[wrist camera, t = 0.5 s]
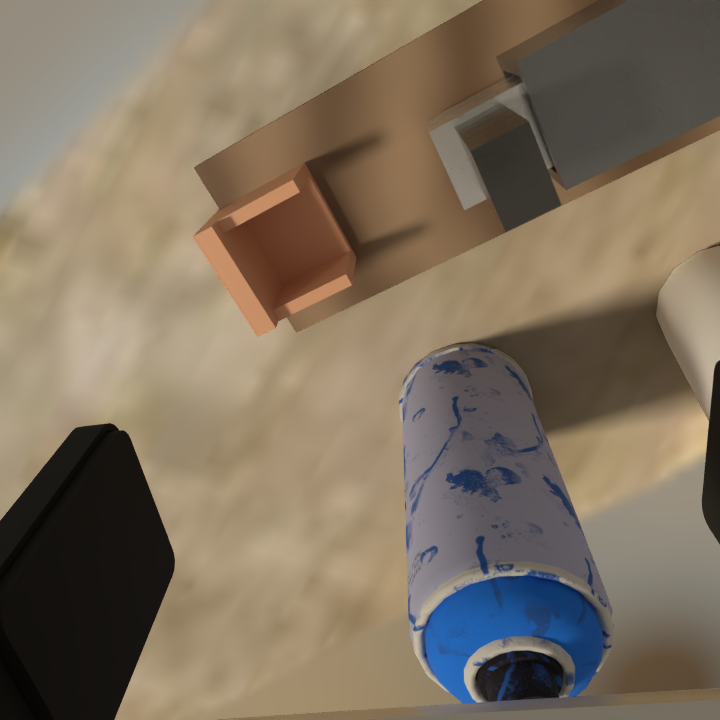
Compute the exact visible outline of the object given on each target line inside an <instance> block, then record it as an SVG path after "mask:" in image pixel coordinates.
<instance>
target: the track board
mask: <svg viewBox="0 0 720 720" xmlns="http://www.w3.org/2000/svg"><path fill="white" fill-rule="evenodd" d="M596 1H598V0H483V1H481V2H479V3H478V4H476V5H474V6H473V7H471V8H469V9H467V10H466V11H464V12H462V13H460V14H459V15H457V16H455V17H453V18H452V19H450V20H448V21H447V22H445V23H443V24H441V25H440V26H438V27H436V28H434V29H433V30H431V31H429V32H427V33H426V34H424V35H422V36H421V37H419V38H417V39H415V40H414V41H412V42H410V43H408V44H407V45H405V46H403V47H401V48H400V49H398V50H396V51H395V52H393V53H391V54H389V55H388V56H386V57H384V58H382V59H381V60H379V61H377V62H376V63H374V64H372V65H370V66H369V67H367V68H365V69H363V70H362V71H360V72H358V73H356V74H355V75H353V76H351V77H350V78H348V79H346V80H344V81H343V82H341V83H339V84H337V85H336V86H334V87H332V88H330V89H329V90H327V91H325V92H324V93H322V94H320V95H318V96H317V97H315V98H313V99H311V100H310V101H308V102H306V103H304V104H303V105H301V106H299V107H298V108H296V109H294V110H292V111H291V112H289V113H287V114H285V115H284V116H282V117H280V118H278V119H277V120H275V121H273V122H272V123H270V124H268V125H266V126H265V127H263V128H261V129H259V130H258V131H256V132H254V133H252V134H251V135H249V136H247V137H246V138H244V139H242V140H240V141H239V142H237V143H235V144H233V145H232V146H230V147H228V148H226V149H225V150H223V151H221V152H220V153H218V154H216V155H214V156H213V157H211V158H209V159H207V160H206V161H204V162H202V163H201V164H199V165H197V166H196V167H194V169H195V170H196V172H197V173H198V175H199V177H200V178H201V180H202V181H203V183H204V185H205V186H206V188H207V190H208V191H209V193H210V194H211V196H212V198H213V199H214V201H215V202H216V204H217V206H218V207H219V209H221V208H223V207H224V206H226V205H228V204H230V203H232V202H233V201H235V200H237V199H239V198H241V197H242V196H244V195H246V194H248V193H250V192H252V191H253V190H255V189H257V188H259V187H261V186H262V185H264V184H266V183H268V182H270V181H271V180H273V179H275V178H277V177H279V176H281V175H282V174H284V173H286V172H288V171H290V170H291V169H293V168H295V167H297V166H299V165H301V164H302V163H304V162H305V164H306V166H307V168H308V170H309V171H310V173H311V175H312V177H313V179H314V180H315V182H316V184H317V186H318V188H319V190H320V191H321V193H322V195H323V197H324V199H325V201H326V202H327V204H328V206H329V208H330V210H331V212H332V213H333V215H334V217H335V219H336V221H337V223H338V224H339V226H340V228H341V230H342V232H343V234H344V235H345V237H346V239H347V241H348V243H349V244H350V246H351V248H352V250H353V252H354V254H355V255H356V263H355V270H354V276H353V282H352V285H351V286H349V287H347V288H345V289H343V290H341V291H339V292H337V293H335V294H333V295H331V296H329V297H327V298H325V299H323V300H321V301H319V302H317V303H314V304H312V305H310V306H308V307H306V308H304V309H302V310H300V311H298V312H296V313H294V314H292V315H290V316H288V317H287V318H288V320H289V322H290V323H291V325H292V327H293V328H294V330H295V331H296V332H298V331H301V330H303V329H305V328H307V327H309V326H311V325H313V324H315V323H317V322H319V321H321V320H324V319H326V318H328V317H330V316H332V315H334V314H336V313H338V312H340V311H342V310H344V309H347V308H349V307H351V306H353V305H355V304H357V303H359V302H361V301H363V300H365V299H367V298H370V297H372V296H374V295H376V294H378V293H380V292H382V291H384V290H386V289H388V288H390V287H393V286H395V285H397V284H399V283H401V282H403V281H405V280H407V279H409V278H411V277H413V276H416V275H418V274H420V273H422V272H424V271H426V270H428V269H430V268H432V267H434V266H436V265H439V264H441V263H443V262H445V261H447V260H449V259H451V258H453V257H455V256H457V255H459V254H462V253H464V252H466V251H468V250H470V249H472V248H474V247H476V246H478V245H480V244H482V243H485V242H487V241H489V240H491V239H493V238H495V237H497V236H499V235H501V234H503V233H505V230H504V228H503V227H502V225H501V223H500V221H499V220H498V218H497V216H496V214H495V213H494V211H493V209H492V207H491V206H490V204H489V202H488V200H487V199H486V200H484V201H482V202H480V203H478V204H476V205H474V206H472V207H470V208H468V209H466V210H464V208H463V206H462V204H461V202H460V199H459V197H458V195H457V193H456V191H455V188H454V186H453V184H452V182H451V180H450V178H449V175H448V173H447V171H446V169H445V167H444V164H443V162H442V160H441V158H440V156H439V153H438V151H437V149H436V147H435V145H434V143H433V140H432V138H431V136H430V134H429V132H428V129H427V126H426V124H425V121H427V120H429V119H430V118H432V117H434V116H436V115H438V114H440V113H441V112H443V111H445V110H447V109H449V108H451V107H453V106H454V105H456V104H458V103H460V102H462V101H464V100H466V99H467V98H469V97H471V96H473V95H475V94H477V93H478V92H480V91H482V90H484V89H486V88H488V87H490V86H491V85H493V84H495V83H497V82H499V81H501V80H503V79H504V76H503V74H502V71H501V69H500V66H499V64H498V61H497V59H496V56H498V55H500V54H502V53H504V52H505V51H507V50H509V49H511V48H513V47H515V46H516V45H518V44H520V43H522V42H524V41H525V40H527V39H529V38H531V37H533V36H535V35H536V34H538V33H540V32H542V31H544V30H545V29H547V28H549V27H551V26H553V25H554V24H556V23H558V22H560V21H562V20H564V19H565V18H567V17H569V16H571V15H573V14H574V13H576V12H578V11H580V10H582V9H583V8H585V7H587V6H589V5H591V4H593V3H594V2H596ZM719 130H720V116H719V117H717V118H715V119H713V120H711V121H709V122H707V123H704V124H702V125H700V126H698V127H696V128H694V129H692V130H690V131H688V132H686V133H684V134H682V135H680V136H678V137H676V138H673V139H671V140H669V141H667V142H665V143H663V144H661V145H659V146H657V147H655V148H653V149H651V150H649V151H647V152H644V153H642V154H640V155H638V156H636V157H634V158H632V159H630V160H628V161H626V162H624V163H622V164H620V165H618V166H616V167H613V168H611V169H609V170H607V171H605V172H603V173H601V174H599V175H597V176H595V177H593V178H591V179H589V180H587V181H584V182H582V183H580V184H578V185H576V186H574V187H572V188H570V189H568V190H565V189H564V188H563V187H562V186H561V185H560V184H558V183H557V182H556V181H555V180H554V179H553V178H552V177H551V176H550V177H551V179H552V182H553V184H554V187H555V189H556V192H557V194H558V197H559V200H560V202H561V206H562V205H564V204H566V203H568V202H570V201H572V200H574V199H577V198H579V197H581V196H583V195H585V194H587V193H589V192H591V191H593V190H595V189H598V188H600V187H602V186H604V185H606V184H608V183H610V182H612V181H614V180H616V179H618V178H621V177H623V176H625V175H627V174H629V173H631V172H633V171H635V170H637V169H639V168H641V167H644V166H646V165H648V164H650V163H652V162H654V161H656V160H658V159H660V158H662V157H664V156H667V155H669V154H671V153H673V152H675V151H677V150H679V149H681V148H683V147H685V146H687V145H690V144H692V143H694V142H696V141H698V140H700V139H702V138H704V137H706V136H708V135H710V134H713V133H715V132H717V131H719ZM559 207H560V206H559ZM557 208H558V207H557ZM555 209H556V208H555ZM553 210H554V209H553ZM548 212H549V211H548ZM546 213H547V212H546ZM544 214H545V213H544ZM542 215H543V214H542ZM540 216H541V215H540ZM538 217H539V216H538ZM536 218H537V217H536ZM534 219H535V218H534ZM532 220H533V219H532ZM530 221H531V220H530ZM525 223H526V222H525ZM523 224H524V223H523ZM521 225H522V224H521ZM519 226H520V225H519ZM517 227H518V226H517ZM515 228H516V227H515ZM513 229H514V228H513ZM511 230H512V229H511ZM509 231H510V230H509ZM507 232H508V231H507Z"/></svg>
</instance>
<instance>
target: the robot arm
mask: <svg viewBox="0 0 720 720" xmlns="http://www.w3.org/2000/svg"><path fill="white" fill-rule="evenodd" d="M702 509H703V514H704V518H705V520H706V523H707V524H708V526H709V528H710V530H711V531H712V533H713V534H714V536H715V538H716V539H717V541H718V542H719V544H720V360H719V361H718V362H717V363H716V365H715V368H714V375H713V386H712V397H711V408H710V418H709V429H708V440H707V451H706V462H705V473H704V484H703V495H702ZM174 567H175V558H174V552H173V549H172V547H171V544H170V541H169V539H168V536H167V533H166V531H165V528H164V526H163V523H162V520H161V518H160V515H159V512H158V510H157V507H156V505H155V502H154V499H153V497H152V494H151V491H150V489H149V486H148V483H147V481H146V478H145V476H144V473H143V470H142V468H141V465H140V462H139V460H138V457H137V455H136V452H135V449H134V447H133V444H132V441H131V439H130V437H129V435H128V434H127V433H126V432H125V431H123V430H122V431H119V430H118V428H117V427H116V426H115V425H113V424H111V423H109V424H100V425H92V426H84V427H77V428H75V429H74V430H73V431H72V432H71V433H70V435H69V436H68V437H67V438H66V440H65V441H64V442H63V443H62V445H61V446H60V447H59V448H58V450H57V451H56V452H55V453H54V455H53V456H52V457H51V458H50V460H49V461H48V462H47V463H46V464H45V466H44V467H43V468H42V469H41V471H40V472H39V473H38V474H37V476H36V477H35V478H34V479H33V481H32V482H31V483H30V484H29V486H28V487H27V488H26V489H25V491H24V492H23V493H22V494H21V496H20V497H19V498H18V499H17V501H16V502H15V503H14V504H13V506H12V507H11V508H10V509H9V511H8V512H7V513H6V514H5V516H4V517H3V518H2V519H1V521H0V720H114V719H115V716H116V714H117V712H118V709H119V707H120V704H121V702H122V699H123V697H124V694H125V692H126V689H127V687H128V684H129V682H130V679H131V677H132V674H133V672H134V669H135V667H136V665H137V662H138V660H139V657H140V655H141V652H142V650H143V647H144V645H145V642H146V640H147V637H148V635H149V632H150V630H151V627H152V625H153V622H154V620H155V618H156V615H157V613H158V610H159V608H160V605H161V603H162V600H163V598H164V595H165V593H166V590H167V588H168V585H169V583H170V580H171V578H172V576H173V572H174ZM219 720H720V688H717V689H700V690H684V691H665V692H647V693H631V694H613V695H596V696H579V697H561V698H544V699H527V700H511V701H495V702H479V703H463V704H447V705H431V706H416V707H400V708H385V709H369V710H353V711H338V712H323V713H307V714H293V715H276V716H262V717H248V718H234V719H219Z"/></svg>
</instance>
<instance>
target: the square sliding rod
mask: <svg viewBox="0 0 720 720" xmlns="http://www.w3.org/2000/svg"><path fill="white" fill-rule="evenodd" d="M425 124H426V126H427V129H428V132H429V134H430V136H431V138H432V140H433V143H434V145H435V147H436V149H437V151H438V153H439V156H440V158H441V160H442V162H443V164H444V167H445V169H446V171H447V173H448V175H449V178H450V180H451V182H452V184H453V186H454V188H455V191H456V193H457V195H458V197H459V199H460V202H461V204H462V206H463V208H464V210H466V209H468V208H470V207H472V206H474V205H476V204H478V203H480V202H482V201H484V200H486V199H487V200H488V202H489V204H490V206H491V207H492V209H493V211H494V213H495V214H496V216H497V218H498V220H499V221H500V223H501V225H502V227H503V228H504V230H505V232H507V231H509V230H511V229H513V228H515V227H517V226H519V225H521V224H523V223H525V222H528V221H530V220H532V219H534V218H536V217H538V216H540V215H542V214H544V213H546V212H548V211H551V210H553V209H555V208H557V207H559V206H561V202H560V200H559V197H558V194H557V192H556V189H555V187H554V184H553V182H552V179H551V177H550V174H549V171H548V169H549V168H551V167H553V166H554V164H553V161H552V158H551V156H550V153H549V151H548V148H547V146H546V143H545V140H544V138H543V135H542V133H541V130H540V127H539V125H538V122H537V120H536V117H535V115H534V112H533V109H532V107H531V104H530V102H529V99H528V96H527V94H526V91H525V89H524V86H523V84H522V81H521V78H520V76H518V75H515V74H512V75H510V76H508V77H506V78H504V79H503V80H501V81H499V82H497V83H495V84H493V85H491V86H490V87H488V88H486V89H484V90H482V91H480V92H478V93H477V94H475V95H473V96H471V97H469V98H467V99H466V100H464V101H462V102H460V103H458V104H456V105H454V106H453V107H451V108H449V109H447V110H445V111H443V112H441V113H440V114H438V115H436V116H434V117H432V118H430V119H429V120H427V121H425Z"/></svg>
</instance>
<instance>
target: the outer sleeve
mask: <svg viewBox="0 0 720 720" xmlns="http://www.w3.org/2000/svg"><path fill="white" fill-rule="evenodd" d="M496 59H497V61H498V64H499V66H500V69H501V71H502V74H503V76H504V78H506V77H508V76H510V75H512V74H515V75H518V76H520V78H521V81H522V84H523V86H524V89H525V91H526V94H527V96H528V99H529V102H530V104H531V107H532V109H533V112H534V115H535V117H536V120H537V122H538V125H539V127H540V130H541V133H542V135H543V138H544V140H545V143H546V146H547V148H548V151H549V153H550V156H551V158H552V161H553V164H554V166H553V167H551V168H549V169H548V171H549V174H550V176H551V177H552V178H553V179H554V180H555V181H556V182H557V183H558V184H560V185H561V186H562V187H563V188H564V189H565V190H568V189H570V188H572V187H574V186H576V185H578V184H580V183H582V182H584V181H587V180H589V179H591V178H593V177H595V176H597V175H599V174H601V173H603V172H605V171H607V170H609V169H611V168H613V167H616V166H618V165H620V164H622V163H624V162H626V161H628V160H630V159H632V158H634V157H636V156H638V155H640V154H642V153H644V152H647V151H649V150H651V149H653V148H655V147H657V146H659V145H661V144H663V143H665V142H667V141H669V140H671V139H673V138H676V137H678V136H680V135H682V134H684V133H686V132H688V131H690V130H692V129H694V128H696V127H698V126H700V125H702V124H704V123H707V122H709V121H711V120H713V119H715V118H717V117H719V116H720V0H598V1H596V2H594V3H593V4H591V5H589V6H587V7H585V8H583V9H582V10H580V11H578V12H576V13H574V14H573V15H571V16H569V17H567V18H565V19H564V20H562V21H560V22H558V23H556V24H554V25H553V26H551V27H549V28H547V29H545V30H544V31H542V32H540V33H538V34H536V35H535V36H533V37H531V38H529V39H527V40H525V41H524V42H522V43H520V44H518V45H516V46H515V47H513V48H511V49H509V50H507V51H505V52H504V53H502V54H500V55H498V56H496Z"/></svg>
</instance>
